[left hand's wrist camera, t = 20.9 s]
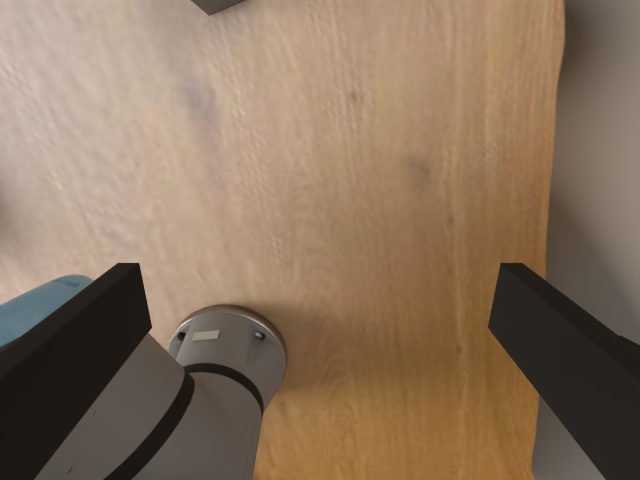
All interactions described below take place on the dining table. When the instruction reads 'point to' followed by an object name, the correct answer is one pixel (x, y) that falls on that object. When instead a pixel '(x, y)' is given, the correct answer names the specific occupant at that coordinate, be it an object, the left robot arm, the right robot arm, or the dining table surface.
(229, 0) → the grey cube
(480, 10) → the dining table surface
